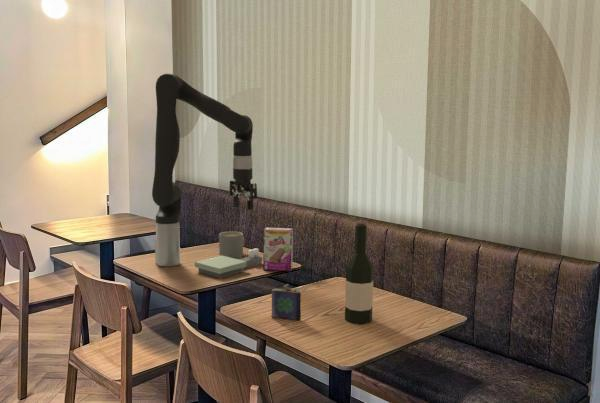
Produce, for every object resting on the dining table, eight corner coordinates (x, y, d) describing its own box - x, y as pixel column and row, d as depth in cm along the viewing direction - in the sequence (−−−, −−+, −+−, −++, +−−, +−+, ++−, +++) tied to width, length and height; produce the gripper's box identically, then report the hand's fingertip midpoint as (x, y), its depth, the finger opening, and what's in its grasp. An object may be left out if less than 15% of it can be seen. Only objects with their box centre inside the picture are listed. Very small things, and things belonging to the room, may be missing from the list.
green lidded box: (194, 272, 235) (194, 261, 234) (221, 265, 245) (221, 255, 245) (219, 279, 226) (219, 268, 225) (246, 271, 237) (246, 261, 236)
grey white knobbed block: (233, 268, 242) (233, 252, 241) (254, 262, 251) (254, 247, 250) (240, 269, 240) (240, 254, 239) (261, 264, 249) (261, 249, 248)
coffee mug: (229, 261, 252) (229, 237, 250) (214, 256, 259) (214, 233, 257) (253, 255, 262) (253, 232, 260) (238, 251, 268) (238, 229, 267)
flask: (270, 318, 186) (270, 284, 184) (273, 315, 189) (273, 281, 187) (299, 321, 183) (299, 287, 181) (302, 318, 186) (302, 284, 184)
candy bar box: (262, 270, 238) (263, 229, 235) (264, 267, 243) (265, 227, 240) (291, 271, 237) (291, 230, 234) (292, 268, 242) (293, 228, 239)
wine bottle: (361, 326, 180) (364, 226, 175) (339, 319, 185) (341, 222, 180) (377, 319, 186) (380, 222, 181) (355, 313, 191) (358, 219, 186)
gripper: (223, 166, 239) (224, 207, 241) (246, 169, 229) (247, 211, 231) (238, 165, 244) (239, 205, 246) (262, 167, 234) (262, 209, 236)
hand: (243, 208), depth 239 cm, fingers open, 8 cm apart
